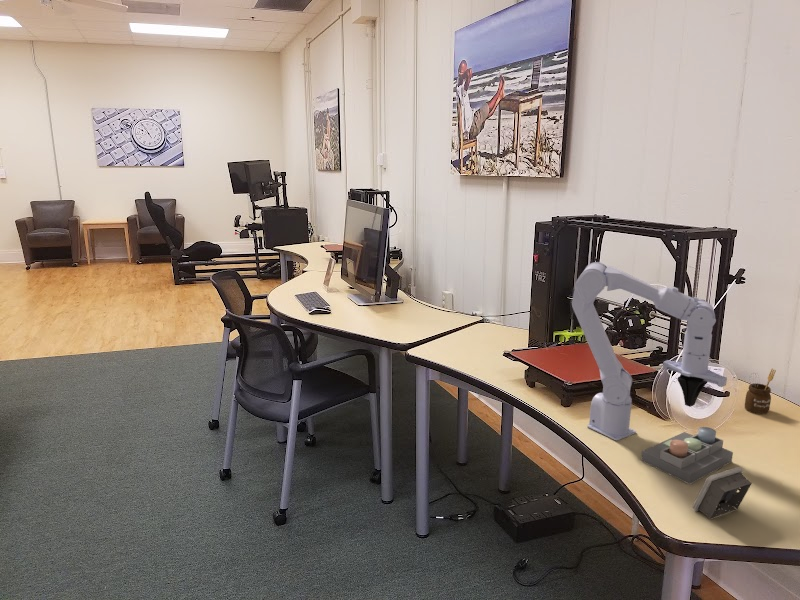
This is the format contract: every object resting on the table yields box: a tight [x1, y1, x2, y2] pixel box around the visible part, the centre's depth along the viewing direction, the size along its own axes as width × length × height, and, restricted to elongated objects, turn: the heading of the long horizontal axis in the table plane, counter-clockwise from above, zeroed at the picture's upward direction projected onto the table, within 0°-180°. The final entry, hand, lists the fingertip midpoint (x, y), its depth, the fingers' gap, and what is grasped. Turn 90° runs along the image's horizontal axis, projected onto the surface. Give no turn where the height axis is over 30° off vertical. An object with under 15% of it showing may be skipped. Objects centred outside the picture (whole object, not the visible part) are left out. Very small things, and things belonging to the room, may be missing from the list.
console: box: [640, 431, 734, 485], centre depth 136 cm, size 12×17×4 cm
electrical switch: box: [692, 466, 753, 520], centre depth 117 cm, size 9×5×9 cm, turn 113°
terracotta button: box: [669, 440, 688, 457], centre depth 132 cm, size 4×4×2 cm
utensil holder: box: [744, 368, 777, 415], centre depth 161 cm, size 6×6×12 cm
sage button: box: [684, 438, 702, 452], centre depth 135 cm, size 4×4×2 cm
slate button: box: [697, 426, 717, 443], centre depth 138 cm, size 4×4×2 cm
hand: (689, 404), depth 142 cm, fingers closed
